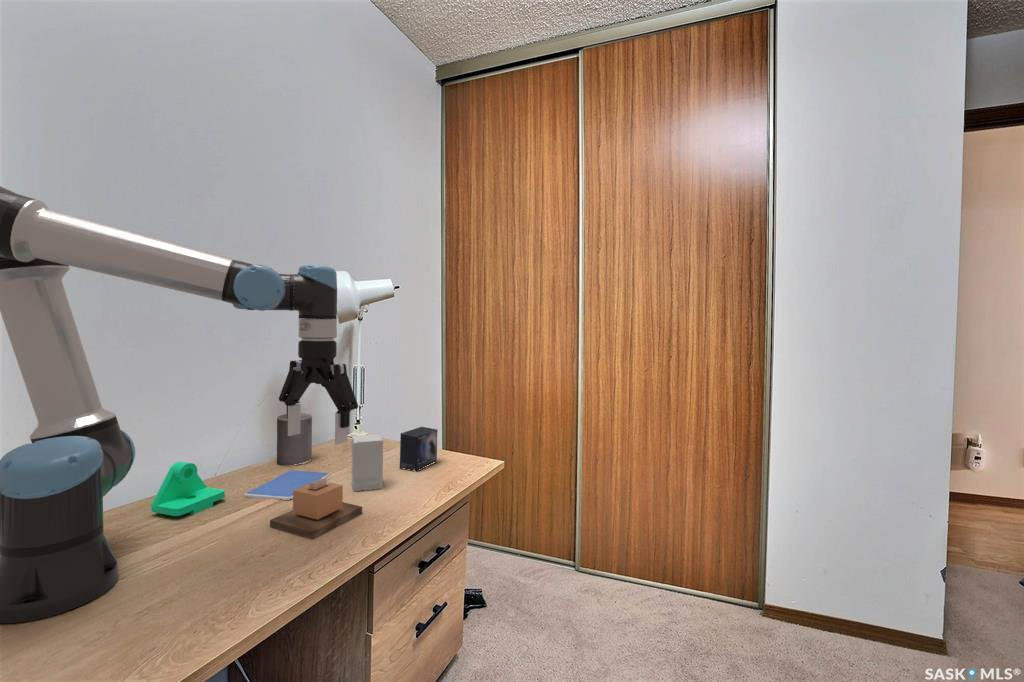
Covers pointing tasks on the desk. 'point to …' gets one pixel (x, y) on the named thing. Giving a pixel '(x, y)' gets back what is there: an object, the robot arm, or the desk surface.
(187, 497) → the camera mount
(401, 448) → the small box
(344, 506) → the base
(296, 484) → the blue felt tray
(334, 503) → the tan square frame
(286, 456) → the pillar candle
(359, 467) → the supplement box
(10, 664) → the desk surface
